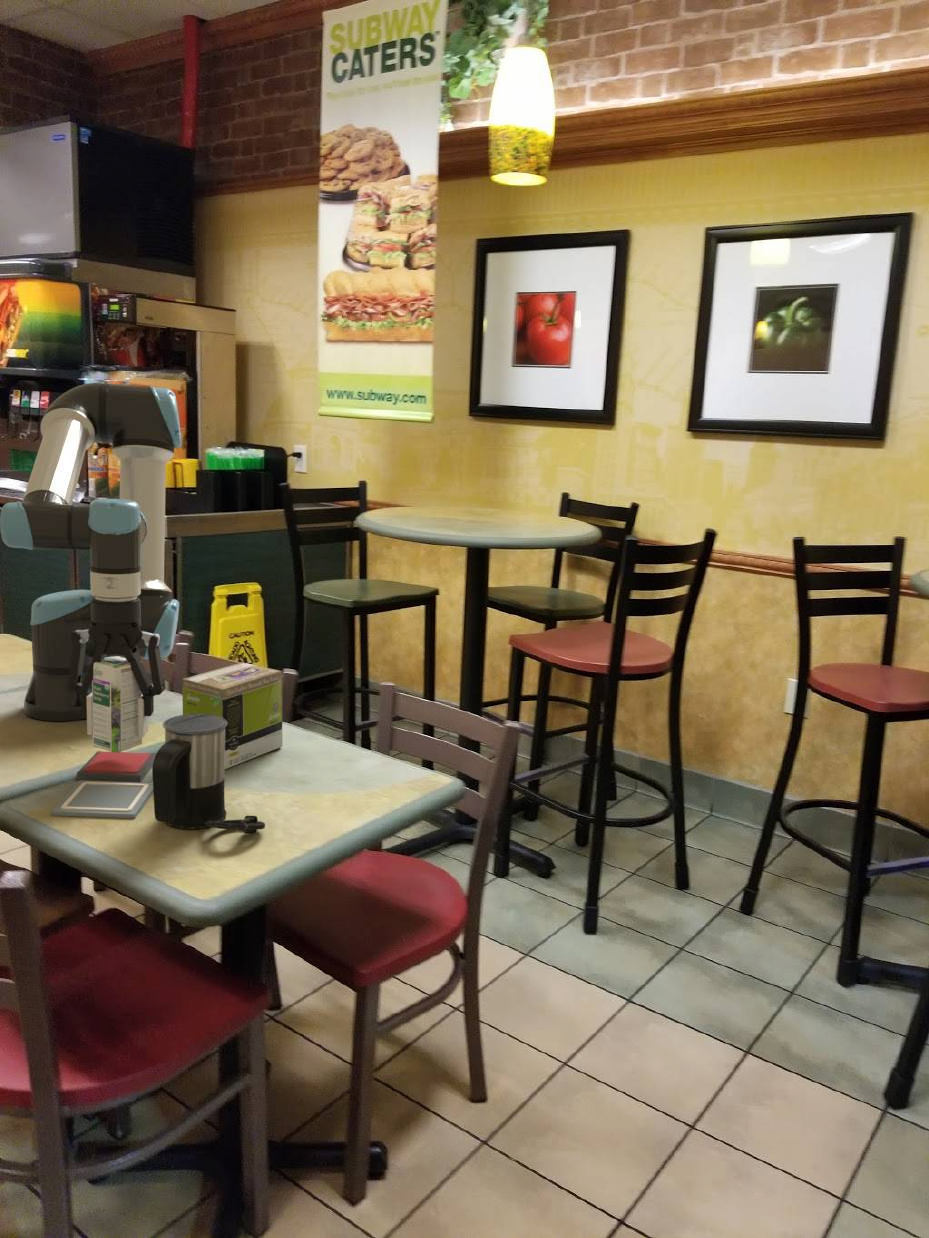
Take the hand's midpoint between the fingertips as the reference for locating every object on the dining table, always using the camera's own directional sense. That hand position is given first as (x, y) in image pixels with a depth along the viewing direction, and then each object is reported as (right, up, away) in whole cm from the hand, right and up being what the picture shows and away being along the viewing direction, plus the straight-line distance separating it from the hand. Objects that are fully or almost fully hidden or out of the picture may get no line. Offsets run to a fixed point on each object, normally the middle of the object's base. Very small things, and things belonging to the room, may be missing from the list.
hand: (117, 733), depth 152 cm
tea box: (+16, -5, +12) cm, 21 cm away
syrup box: (0, -2, 0) cm, 2 cm away
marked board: (+2, -9, -11) cm, 14 cm away
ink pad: (0, -6, +1) cm, 6 cm away
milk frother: (+20, -12, -16) cm, 29 cm away
